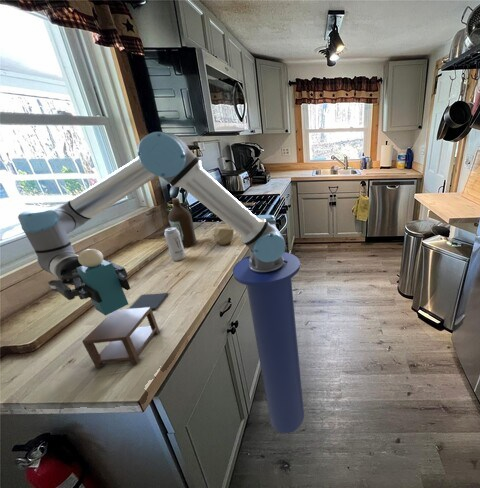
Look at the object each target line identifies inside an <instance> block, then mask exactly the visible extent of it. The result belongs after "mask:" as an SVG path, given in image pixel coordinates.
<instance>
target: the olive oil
mask: <svg viewBox="0 0 480 488" xmlns="http://www.w3.org/2000/svg"><path fill="white" fill-rule="evenodd" d="M171 203H172V208H171V209H170V211H169V213H168V216H167V218H168V222H169V225H170V228H171V227H176V228H177V230H178V231H179V233H180V237H181V240H182V244H183V248H188V247H189V248H190V247H191V246H195V245H196V244H197V238H196V232H195V227H194V222H193V218H192V214H191V212H190V211H189V210H188V209H187V208H186V207H184V206H182V205H181V201H180V198H179V197H174V198H172V199H171Z"/></svg>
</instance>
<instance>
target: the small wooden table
mask: <svg viewBox="0 0 480 488" xmlns="http://www.w3.org/2000/svg"><path fill="white" fill-rule="evenodd" d="M144 319H147V322H148V324H149V325H145V326H140V325H141V324H142V322H143V321H144ZM159 333H160V329H159V326H158V323H157V320H156V317H155V315H154V312H153V310H152V309H151V307H145V308H133V309H129V308H123V309H122V308H121V309H118V310H116V311H114V312H112V313H110V314H108V315H106V317H105V318H104V319H102V321H101V322H100V323H99V324H98V325H97V326H96V327H95V328H94V329H93V330H92V331H91V332H90V333H89V334H88V335H86V337H85V338H84V339H82V344H83V346H84V348H85V350H86V351H87V353H88V356H89V358H90V359H91V361H92V364H93V366H94V367H95V368H96V369H101V368H102V367H103V366H104V365H105V363H111V362H113V363H114V362H121V361H130V362H131V364H132V365H137V364H139V362H140V361H141V359H140V357H139V355H140V354H141V352H142V351H143V349H144V348H145V346H146V345H147V343H148V342H149V341H150V340H151V338H152V336H153V335H158V334H159ZM98 343H107V345H106V346H104V348H102V350H101V351H100V352H99V350H98V349H97V347H96V345H95V344H98Z"/></svg>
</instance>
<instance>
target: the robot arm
mask: <svg viewBox="0 0 480 488" xmlns="http://www.w3.org/2000/svg"><path fill="white" fill-rule="evenodd" d="M137 146H138V147H137V157H136V158H134V159H133V160H131V161H130V162H128V163H126V164H125V165H122V167H120V168H118V169H116V170H115V171H113V172H112V173H111V174H108V175H107V176H106V177H104V178H103V179H101V180H99V181H97V183H95V184H93V185H91V186H90V187H89V188H87V189H86V190H84V191H82V192H80V193H79V194H77V195H76V196H74V197H72V198H71V199H70V200H68V201H66V202H65V203H63V204H62V205H60V206H58V207H57V208H55V209H53V208H50V207H44V208H35V209H31V210H27V211H23V212H21V213H19V214H18V216H17V219H18V221H19V223H20V225H21V229H22V231H23V232H24V234H25V236H26V237H27V240H28V241H29V243H30V245H31V246H32V248H33V250H34V252H35V254H36V256H37V261H36V262H37V263H38V265H39V267H40V268H41V269H42V270H44V271H45V272H47V273H49V274H50V275H53V276H54V277H56V278H57V280H56V279H55V280H53V279H51V280H49V281H48V282H47V283H48V285H49V287H50V288H51V291H52V292H56V293H57V292H58V293H59V294H60V295H62V297H64V298H65V299H67V300H68V301H71V300H75V298H76V297H79V300H86V299H90V300H91V299H93V300H94V301H96V302H98V303H100V302H102V299H101V297H100V295H99V293H98V291H96V290H94V289H93V288H91V287H89V286H88V285H86V284H85V285H84V283H83V281H82V279H81V277H80V275H79V273H78V271H77V268H78V267H81V266H83V265H81V264H80V263H79V261H78V256H79V254H78V253H76V252H75V249H74V247H73V244H72V242H71V241H70V238H69V236H68V234H70V233H71V232H73V231H74V230H76V229H78V228H79V227H81V226H83V225H85V224H86V223H87V222H88V221H90V220H92V219H93V218H94V217H96V216H98V215H99V214H101V213H102V212H105V211H106V210H107V209H108V208H111V206H113V205H115V204H116V203H118V202H119V201H121V200H123V199H124V198H125V197H127V196H129V195H130V194H131V193H133V192H135V191H137V190H138V189H140V188H141V187H143V186H144V185H146V184H148V183H149V182H150V181H152V180H154V179H155V178H156V177H159V178H162V179H163V180H164V181H166V182H167V183H168V184H170V185H171V186H172V187H174V188H181V189H183V190H185V191H186V192H187V193H189V194H190V195H191V196H192V197H193V198H194V199H196V200H197V201H198V202H199V203H201V204H202V205H203V206H204V207H206V208H207V209H208V210H209V211H210V212H212V214H214V215H215V216H216V217H218V218H219V219H220V220H221V221H222V222H224V223H225V224H226V226H229V227H231V229H233V231H235V232H236V233H237V234H239V235H240V239H241V242H242V243H243V245H245V246H246V247H247V248H249V249H250V255H249V256H250V259H249V268H250V270H251V271H252V272H255V273H259V274H266V273H272V272H275V271H277V270H279V269H281V268H282V267H283V266H284V262H285V263H287V262H288V261H285V260H284V259H283V257H282V255H283V253H284V252H286V246H287V245H286V240H285V238H284V236H283V235H282V233H281V232H280V231H279V229H278V228H277V224H276V223H277V222H276V217H275V216H274V215H272V214H258V215H255V214H253V213H252V212H251V211H250V210H249V209H248V208H247V207H246V206H245V205H244V204H243V203H242V202H241V201H239V200H238V199H237V198H236V197H235V196H234V195H232V193H230V192H229V191H228V189H226V188H225V187H224V186H223V185H222V184H221V183H220V182H218V181H217V180H216V179H215V178H214V177H213V176H212V175H210V174H209V172H208V171H206V170H205V169H204V168H203V166H202V160H201V159H200V158H199V157H198V156H197V155H196V154H195V153H193V151H192V150H190V148H189V146H188V144H187V143H186V141H185V140H184V139H182V138H181V137H180V136H179V135H177V134H174V133H171V132H165V131H152V132H151V133H147V135H145V136H144V137H142V138H141V140H140V141H139V143H138V145H137ZM107 261H108V262H110V263H112V265H113V267H114V270H115V272H116V274H117V277H118V279H119V282H120V284H121V287H122V289H123V290H126V291H128V290H131V286H130V284H129V281H128V279H127V278H128V276H129V275H128V273H127V269H126V267H124V266H122V265H119V264H117V263H114V262H113V261H112V260H111V259H110V260H107ZM68 285H69V286H74V288H72V289H71V287H69V286H68Z"/></svg>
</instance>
